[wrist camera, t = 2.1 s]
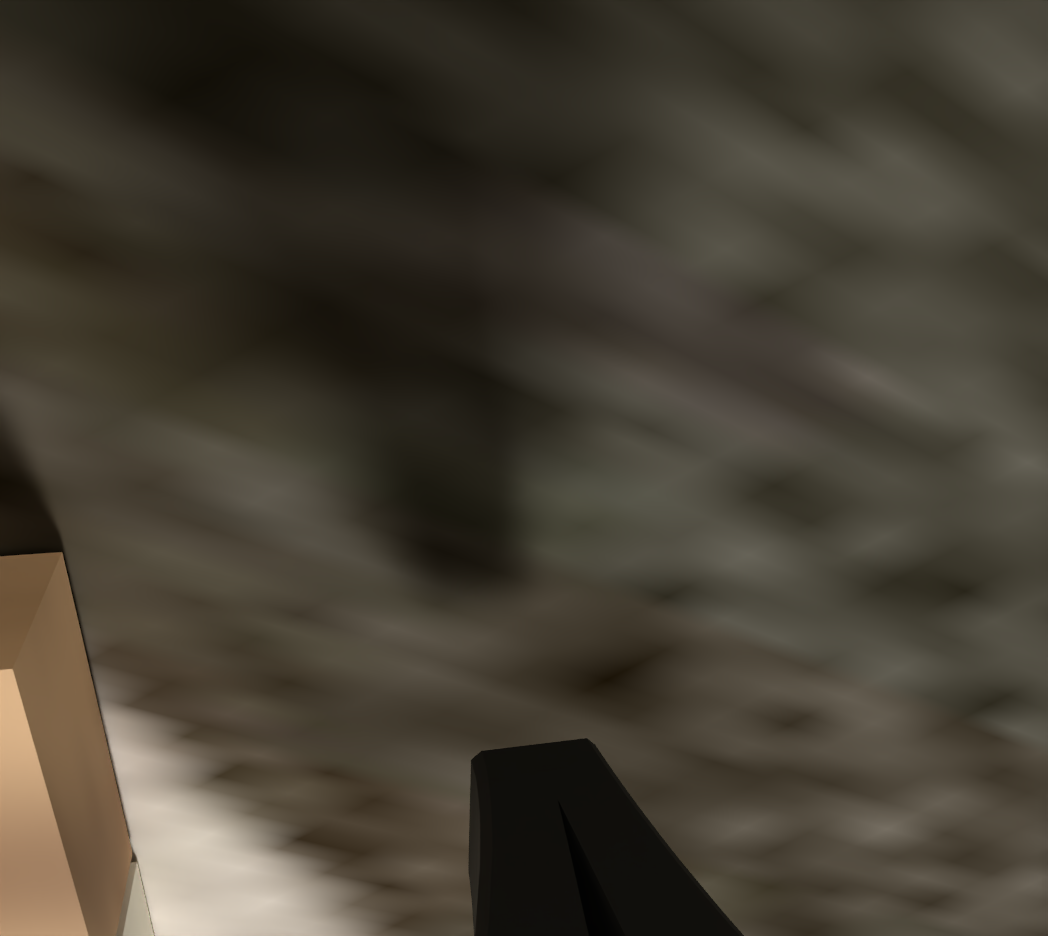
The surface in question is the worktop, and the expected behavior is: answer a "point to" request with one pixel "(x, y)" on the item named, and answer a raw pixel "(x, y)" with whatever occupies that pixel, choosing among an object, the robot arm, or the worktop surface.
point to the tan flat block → (53, 766)
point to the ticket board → (134, 907)
